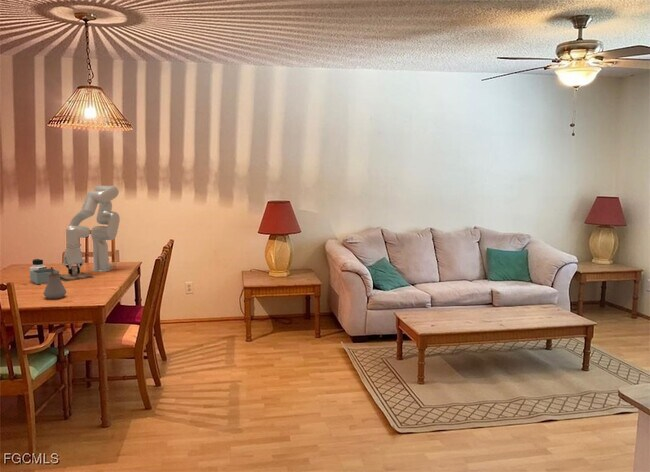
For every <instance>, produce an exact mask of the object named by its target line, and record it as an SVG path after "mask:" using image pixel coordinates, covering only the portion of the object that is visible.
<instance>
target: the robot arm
mask: <svg viewBox="0 0 650 472" xmlns="http://www.w3.org/2000/svg"><path fill="white" fill-rule="evenodd" d="M118 195H119V189H118V187H117V186H115V185H97V186H95V187H94V190H91V191H88V192H87V193H86V195H85V198H84V201H83V204H82V206H81V209H80V210H79V211H78V212H77V213H76V214H75V215H74V216H73V217H72V218H71V220H70V222H69V224H68V227H67V228H66V229H65V243H66V248H65V249H64V258H63V259H64V261H63V263H62V266H63V267H66V268H67V269H68V270H67V271H68V273H67V274H70V275H72V269H71V266H72V265H75V264H76V265H75V266H77V271H78V274H79V272H81V267H82V266H83V265H84V264H85V262H86V261H85V260H84V259H83V255H82V249H81V247H82V244H81V243H80V239H81V238H83V239H84V238H88V237H89V236H91V240H92V247H93V248H92V251H93V256H92V257H93V268H92V269H91V272H93V273H94V272H95V273H103V272H111V271H112V267H113V268H115V267H116V264H115V263H109V245H108V243H107V241H112V240H115V239H116V237H117V236H118V235H117V234H118V229H119V227H120V221H121V219H120V214H119V213H118V212H117V211H114V210H113V203H112V200H114V199H116V198H117V197H118ZM97 207H98V210H97V213H96V209H97ZM112 210H113V211H112ZM95 213H96V223H97V224H99V225H96V226H93V227H92V228H91V229H90V228H89V227H87V226H86V225H85V226H81V225H80V224H81V223H82V222H84V220H86V219H89V218H91V217H93V216H94V215H95Z"/></svg>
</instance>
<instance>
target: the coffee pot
mask: <svg viewBox="0 0 650 472" xmlns="http://www.w3.org/2000/svg"><path fill="white" fill-rule="evenodd" d="M50 268H51V273H52V274H50V275H48V277H49V281H48V283H46V287H45V288H44V291H43V295H44V297H46V298H47V299H49V300H58V299H62V298H63V297H64V296H65V295H66V294H67V290H66V288H65V286H64V284H63V283H62V282H63V281H62V280H60V276H61V275H62V274H61V273H59V274H54V273H53V269H55V268H54V267H52V266H50V267H49V268H48V269H50Z"/></svg>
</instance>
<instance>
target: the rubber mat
mask: <svg viewBox="0 0 650 472" xmlns="http://www.w3.org/2000/svg"><path fill="white" fill-rule="evenodd" d="M93 278H96V277H95V276H92V277H91V278H90V279H93ZM86 279H87V280H88V278H83V279H82V280H86ZM60 280H61V282H67V281H66V280H63V279H61V278H60ZM78 280H79V281H80V280H81V279H76V280H75V281H78ZM71 281H74V280H69V281H68V282H71Z"/></svg>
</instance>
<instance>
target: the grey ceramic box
mask: <svg viewBox="0 0 650 472" xmlns="http://www.w3.org/2000/svg"><path fill="white" fill-rule="evenodd" d="M49 268H50V267H49ZM49 268H47V269H41V270H33V271H30V270H29V278H30V279H29V281H30V283H33V284H34V285H37V286H38V285H39V286H41V285H44V284H47V283H48V281H49V277H48V275H50V274H52V273H51V268H50V269H49ZM53 273H54V274H60V270H59V269H58V270H57V269H55V268H54V269H53Z"/></svg>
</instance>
